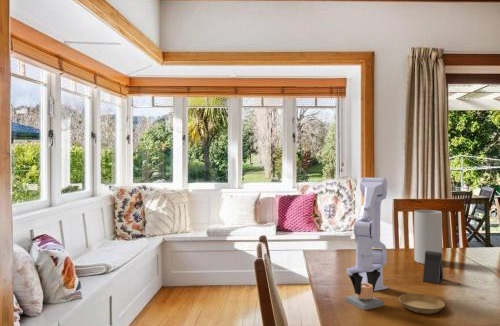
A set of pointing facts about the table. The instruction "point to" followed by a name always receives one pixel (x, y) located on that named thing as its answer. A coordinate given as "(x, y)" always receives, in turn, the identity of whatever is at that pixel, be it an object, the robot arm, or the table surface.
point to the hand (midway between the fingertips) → (364, 292)
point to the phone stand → (433, 267)
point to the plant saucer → (421, 303)
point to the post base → (364, 302)
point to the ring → (366, 291)
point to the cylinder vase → (427, 233)
